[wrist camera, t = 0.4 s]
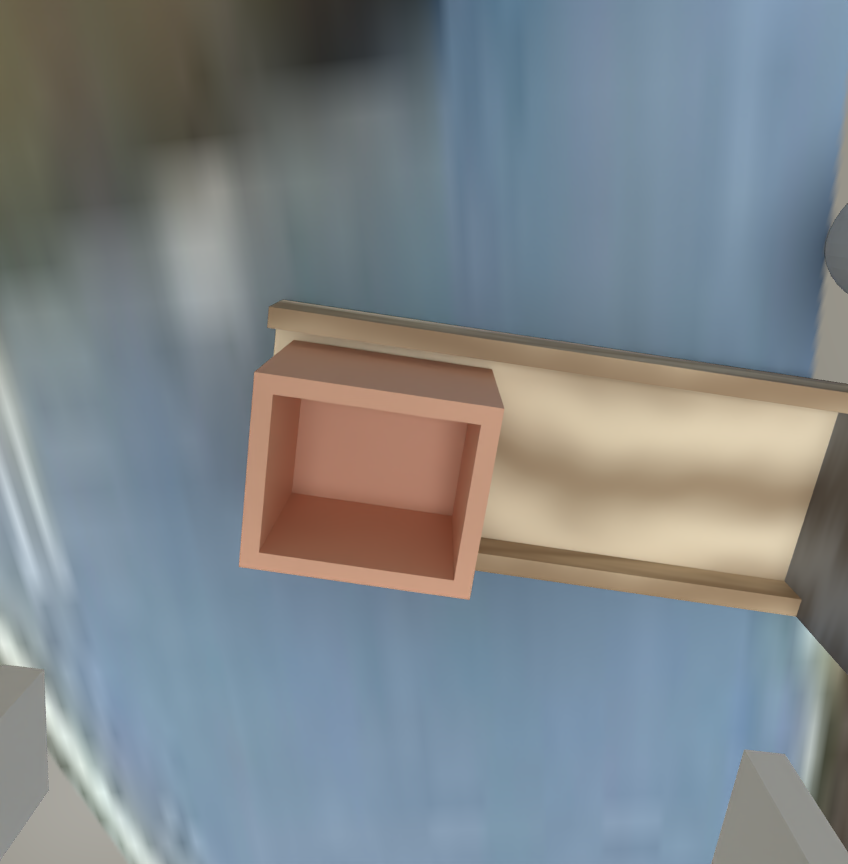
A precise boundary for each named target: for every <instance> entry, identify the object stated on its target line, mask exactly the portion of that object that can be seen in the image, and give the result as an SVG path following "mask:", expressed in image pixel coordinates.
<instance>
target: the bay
mask: <svg viewBox="0 0 848 864" xmlns="http://www.w3.org/2000/svg"><path fill="white" fill-rule="evenodd" d="M267 328H273V329H276V335H275V346H274V355H276V354H277V353H278V352H279V351H281V350H282V349H283V348H284V347H285V346H287V345H288V344H289V343H290V342H292V341H293V340H298V341H305V342H312V343H318V344H325V345H332V346H339V347H345V348H352V349H359V350H365V351H372V352H379V353H386V354H392V355H399V356H406V357H413V358H419V359H426V360H433V361H440V362H446V363H453V364H460V365H467V366H473V367H480V368H487V369H492V371H493V374H494V377H495V380H496V384H497V387H498V390H499V393H500V396H501V399H502V403H503V406H504V414H503V420H502V425H501V431H500V436H499V442H498V447H497V452H496V458H495V463H494V469H493V474H492V480H491V485H490V491H489V496H488V502H487V507H486V513H485V518H484V523H483V529H482V534H481V540H480V545H479V551H478V556H477V562H476V567H475V570H476V571H483V572H490V573H497V574H504V575H511V576H518V577H525V578H532V579H539V580H546V581H553V582H560V583H567V584H574V585H581V586H588V587H595V588H601V589H608V590H615V591H622V592H629V593H636V594H643V595H650V596H657V597H664V598H671V599H678V600H685V601H692V602H699V603H706V604H713V605H720V606H727V607H734V608H741V609H748V610H755V611H762V612H769V613H776V614H783V615H789V616H796V617H797V618H798V619H799V620H800V621H801V623H802V624H803V625H804V626H805V627H806V628H807V629H808V630H809V632H810V633H811V634H812V635H813V636H814V637H815V638H816V640H817V641H818V642H819V643H820V644H821V645H822V646H823V647H824V649H825V650H826V651H827V652H828V653H829V654H830V655H831V656H832V658H833V659H834V660H835V661H836V662H837V663H838V664H839V666H840V667H841V668H842V669H843V670H844V671H845V672H846V673H847V674H848V384H845V383H837V382H831V381H825V380H818V379H811V378H805V377H798V376H791V375H784V374H778V373H771V372H764V371H758V370H751V369H744V368H738V367H731V366H724V365H717V364H711V363H704V362H697V361H691V360H684V359H677V358H671V357H664V356H657V355H650V354H644V353H637V352H630V351H624V350H617V349H610V348H603V347H597V346H590V345H583V344H577V343H570V342H563V341H557V340H550V339H543V338H536V337H530V336H523V335H516V334H510V333H503V332H496V331H489V330H483V329H476V328H469V327H463V326H456V325H449V324H443V323H436V322H429V321H422V320H416V319H409V318H402V317H396V316H389V315H382V314H375V313H369V312H362V311H355V310H349V309H342V308H335V307H329V306H322V305H315V304H308V303H302V302H295V301H288V300H281V301H279V302H277V303H275V304H273V305H271V306H269V313H268V325H267Z"/></svg>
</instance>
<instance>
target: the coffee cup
mask: <svg viewBox="0 0 848 864" xmlns="http://www.w3.org/2000/svg"><path fill="white" fill-rule="evenodd" d="M825 258H826V264H827V267H828V270H829V272H830V274H831V276H832V278H833V279H834V280H835V282H836V283H837V285H839V286H840V287H841V288H842V289H843V290H844V291H845V292H846V293H848V204H847V205H846V206H845V207H844V208H843V209H842V210H841V212H840V213H839V215H838V216H837V217H836V219H835V221H834V223H833V225H832V227H831V229H830V231H829V234H828V237H827V241H826V247H825Z"/></svg>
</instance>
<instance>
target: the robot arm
mask: <svg viewBox="0 0 848 864" xmlns="http://www.w3.org/2000/svg"><path fill="white" fill-rule="evenodd" d="M48 790H49V787H48V761H47V734H46V707H45V680H44V669H36V668H27V667H19V666H10V665H2V666H1V667H0V860H1V859H2V857H3V856H4V854H5V853H6V851H7V850H8V848H9V847H10V845H11V844H12V843H13V841H14V840H15V838H16V837H17V835H18V834H19V833H20V831H21V830H22V828H23V827H24V825H25V824H26V822H27V821H28V820H29V818H30V817H31V815H32V814H33V812H34V811H35V809H36V808H37V806H38V805H39V804H40V802H41V801H42V799H43V798H44V796H45V795H46V794H47V792H48ZM712 864H848V852H847V850H846V849H845V847H844V846H843V844H842V843H841V841H840V840H839V838H838V836H837V835H836V833H835V832H834V830H833V829H832V827H831V825H830V824H829V822H828V821H827V819H826V818H825V816H824V815H823V813H822V811H821V810H820V808H819V807H818V805H817V804H816V802H815V801H814V799H813V797H812V796H811V794H810V793H809V791H808V790H807V788H806V787H805V785H804V783H803V782H802V780H801V779H800V777H799V776H798V774H797V773H796V771H795V769H794V768H793V766H792V765H791V763H790V762H789V760H788V758H787V757H786V755H785V754H779V753H770V752H761V751H752V750H744V752H743V756H742V759H741V763H740V766H739V770H738V773H737V777H736V780H735V784H734V787H733V790H732V794H731V797H730V801H729V804H728V808H727V811H726V815H725V818H724V822H723V825H722V829H721V832H720V836H719V839H718V843H717V846H716V850H715V853H714V857H713V860H712Z"/></svg>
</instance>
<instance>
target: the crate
mask: <svg viewBox="0 0 848 864" xmlns="http://www.w3.org/2000/svg"><path fill="white" fill-rule="evenodd" d="M503 414H504V406H503V403H502V399H501V396H500V393H499V390H498V387H497V384H496V380H495V377H494V374H493V371H492V369H487V368H480V367H473V366H467V365H460V364H453V363H446V362H440V361H433V360H426V359H419V358H413V357H406V356H399V355H392V354H386V353H379V352H372V351H365V350H359V349H352V348H345V347H339V346H332V345H325V344H318V343H312V342H305V341H298V340H293V341H292V342H290V343H289V344H288V345H287V346H285V347H284V348H283V349H282V350H281V351H279V352H278V353H277V354H276V355H274V356H273V357H272V358H271V359H270V360H268V361H267V362H266V363H265V364H263V365H262V366H261V367H260V368H259V369H257V370H256V371H255V372H254V383H253V396H252V408H251V421H250V433H249V446H248V459H247V471H246V484H245V497H244V509H243V522H242V535H241V547H240V560H239V567H244V568H251V569H258V570H265V571H272V572H279V573H286V574H293V575H300V576H307V577H314V578H321V579H328V580H335V581H342V582H349V583H356V584H363V585H370V586H377V587H384V588H391V589H398V590H405V591H412V592H419V593H426V594H433V595H440V596H447V597H454V598H461V599H468V600H470V594H471V589H472V583H473V578H474V573H475V567H476V562H477V556H478V551H479V545H480V540H481V534H482V529H483V523H484V518H485V513H486V507H487V502H488V496H489V491H490V485H491V480H492V474H493V469H494V463H495V458H496V452H497V447H498V442H499V436H500V431H501V425H502V420H503Z"/></svg>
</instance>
